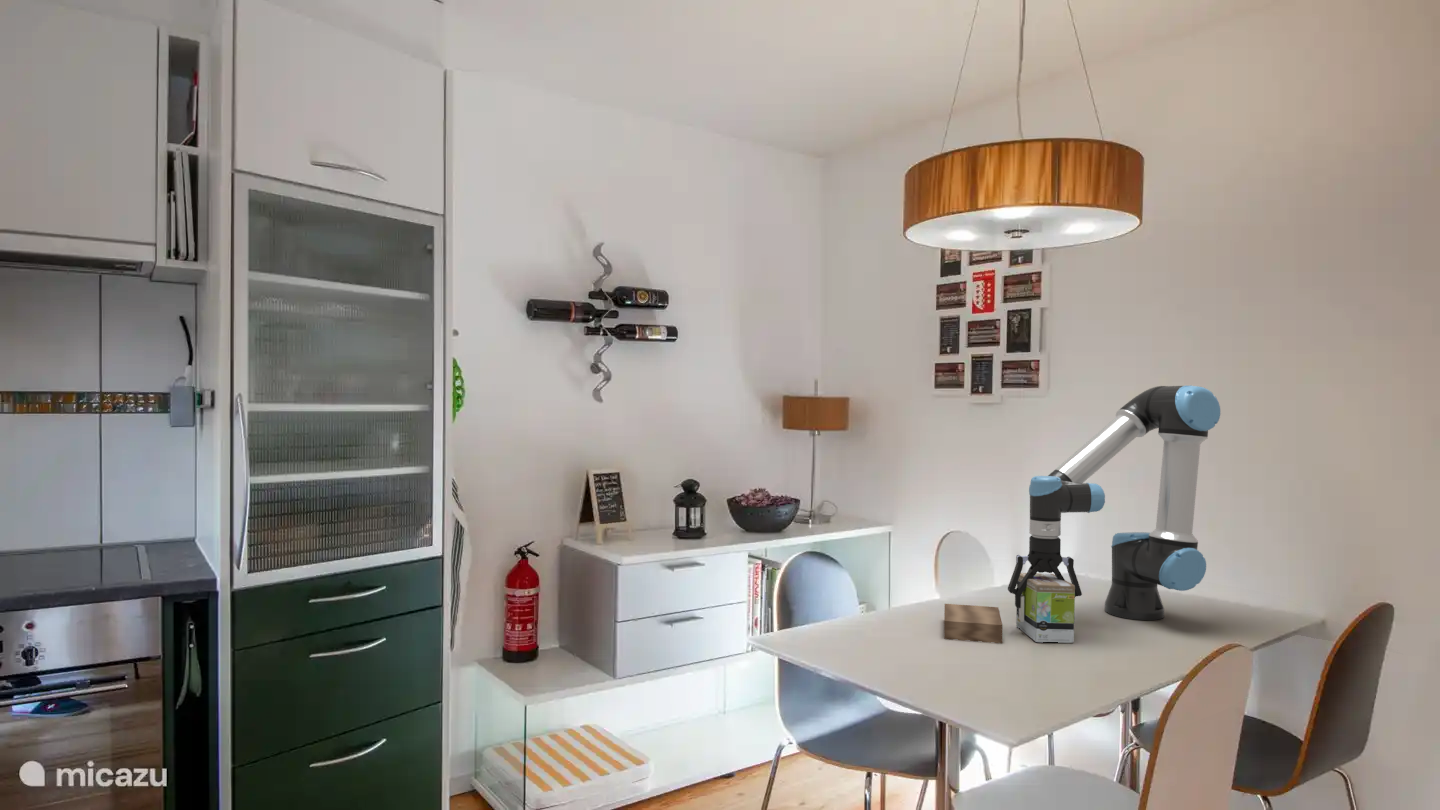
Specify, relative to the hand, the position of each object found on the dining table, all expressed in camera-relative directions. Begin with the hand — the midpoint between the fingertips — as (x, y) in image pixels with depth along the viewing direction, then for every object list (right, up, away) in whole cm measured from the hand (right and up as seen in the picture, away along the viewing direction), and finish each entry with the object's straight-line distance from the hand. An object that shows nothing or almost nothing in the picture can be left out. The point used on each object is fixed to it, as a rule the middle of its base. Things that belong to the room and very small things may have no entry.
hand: (1043, 621), depth 216 cm
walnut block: (-18, -4, +3) cm, 18 cm away
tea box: (0, -4, 0) cm, 4 cm away
